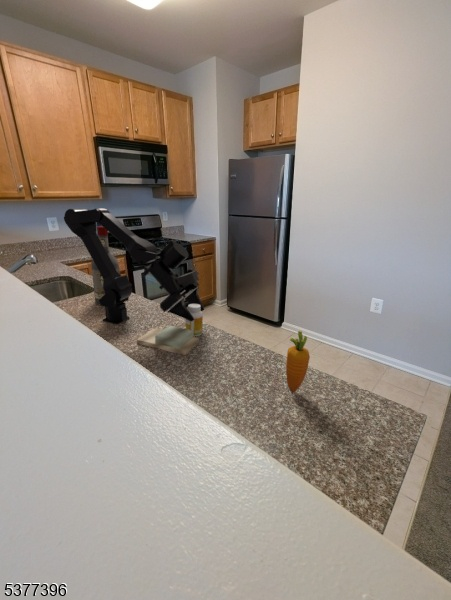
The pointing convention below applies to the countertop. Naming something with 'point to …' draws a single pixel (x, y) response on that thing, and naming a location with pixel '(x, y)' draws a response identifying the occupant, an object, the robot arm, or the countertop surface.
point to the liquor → (95, 272)
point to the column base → (151, 342)
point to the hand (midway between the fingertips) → (198, 315)
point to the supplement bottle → (195, 319)
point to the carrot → (297, 362)
